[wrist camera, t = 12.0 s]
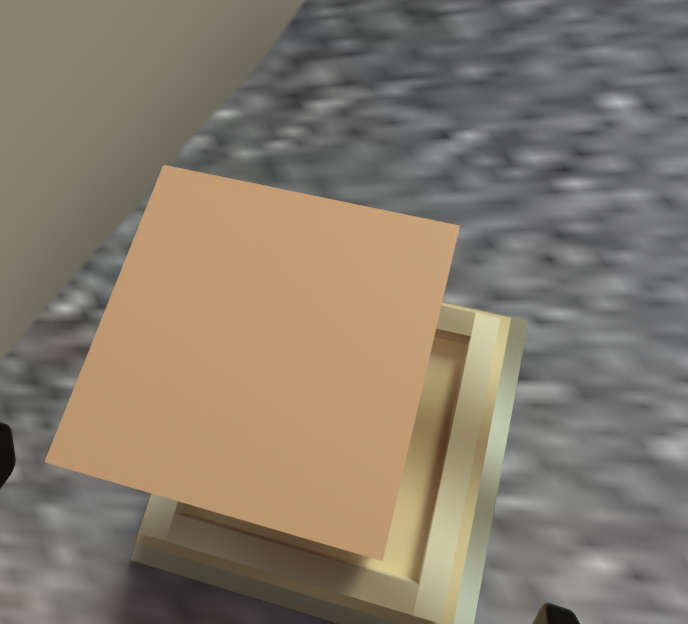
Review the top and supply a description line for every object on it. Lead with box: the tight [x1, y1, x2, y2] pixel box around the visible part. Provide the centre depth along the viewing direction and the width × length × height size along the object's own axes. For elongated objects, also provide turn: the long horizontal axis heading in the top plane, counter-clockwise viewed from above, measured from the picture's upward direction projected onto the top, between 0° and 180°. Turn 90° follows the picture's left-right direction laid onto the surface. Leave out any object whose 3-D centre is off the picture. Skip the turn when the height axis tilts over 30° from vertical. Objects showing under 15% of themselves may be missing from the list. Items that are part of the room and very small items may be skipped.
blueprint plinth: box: [130, 302, 528, 624], centre depth 20 cm, size 12×12×4 cm
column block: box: [45, 165, 460, 561], centre depth 14 cm, size 5×5×11 cm
